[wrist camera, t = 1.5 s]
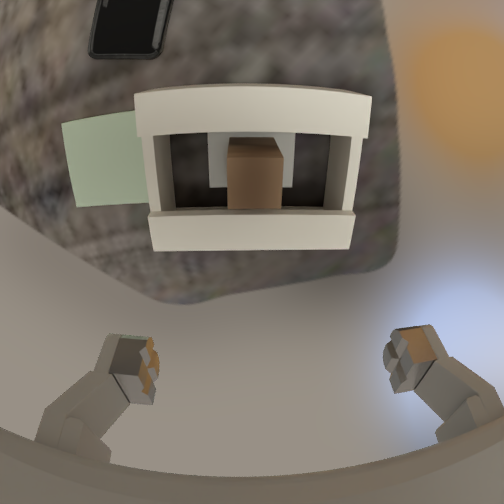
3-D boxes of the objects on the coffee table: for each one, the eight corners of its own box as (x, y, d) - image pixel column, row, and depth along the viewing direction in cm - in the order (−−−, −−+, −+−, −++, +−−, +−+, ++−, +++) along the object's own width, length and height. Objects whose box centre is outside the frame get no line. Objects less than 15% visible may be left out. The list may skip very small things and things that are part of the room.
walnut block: (230, 177, 29) (227, 209, 23) (229, 137, 26) (226, 157, 21) (272, 177, 29) (281, 208, 23) (273, 137, 27) (283, 158, 21)
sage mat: (79, 205, 31) (76, 207, 31) (64, 122, 26) (61, 123, 25) (157, 199, 32) (156, 202, 31) (148, 108, 26) (146, 109, 26)
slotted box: (168, 216, 33) (153, 251, 27) (157, 88, 25) (133, 94, 19) (330, 215, 34) (348, 249, 28) (343, 89, 26) (371, 96, 20)
